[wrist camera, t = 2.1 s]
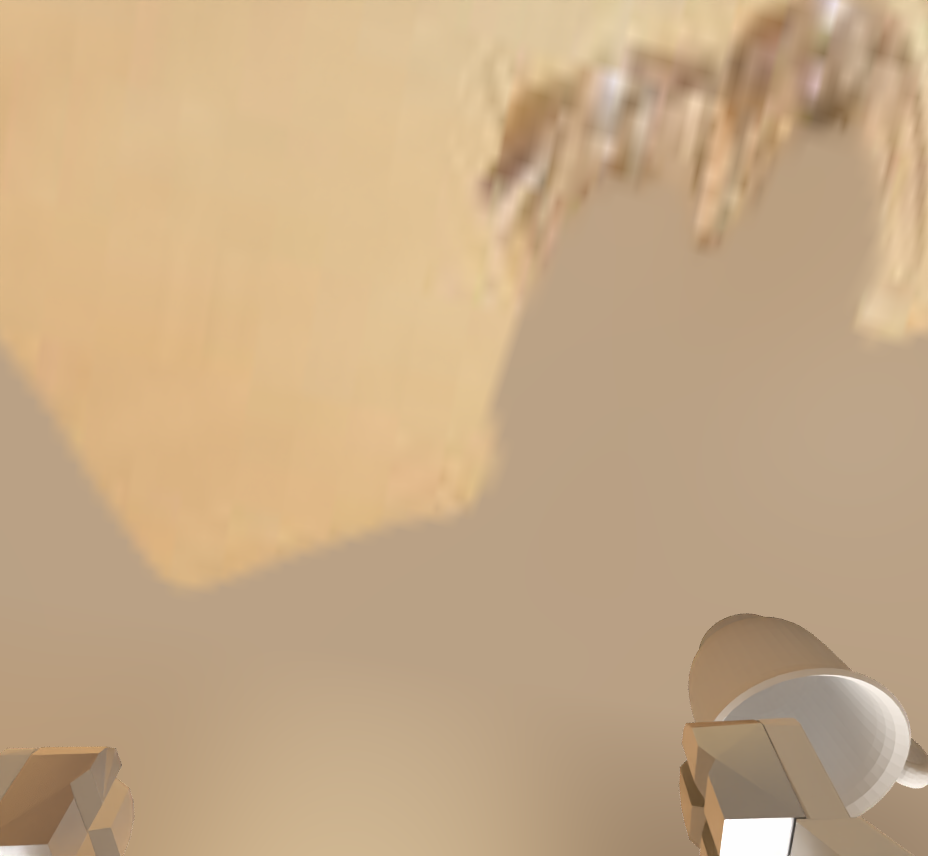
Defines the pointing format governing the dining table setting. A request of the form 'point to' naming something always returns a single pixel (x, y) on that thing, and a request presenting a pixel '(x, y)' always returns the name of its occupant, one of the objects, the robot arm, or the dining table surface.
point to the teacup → (808, 703)
